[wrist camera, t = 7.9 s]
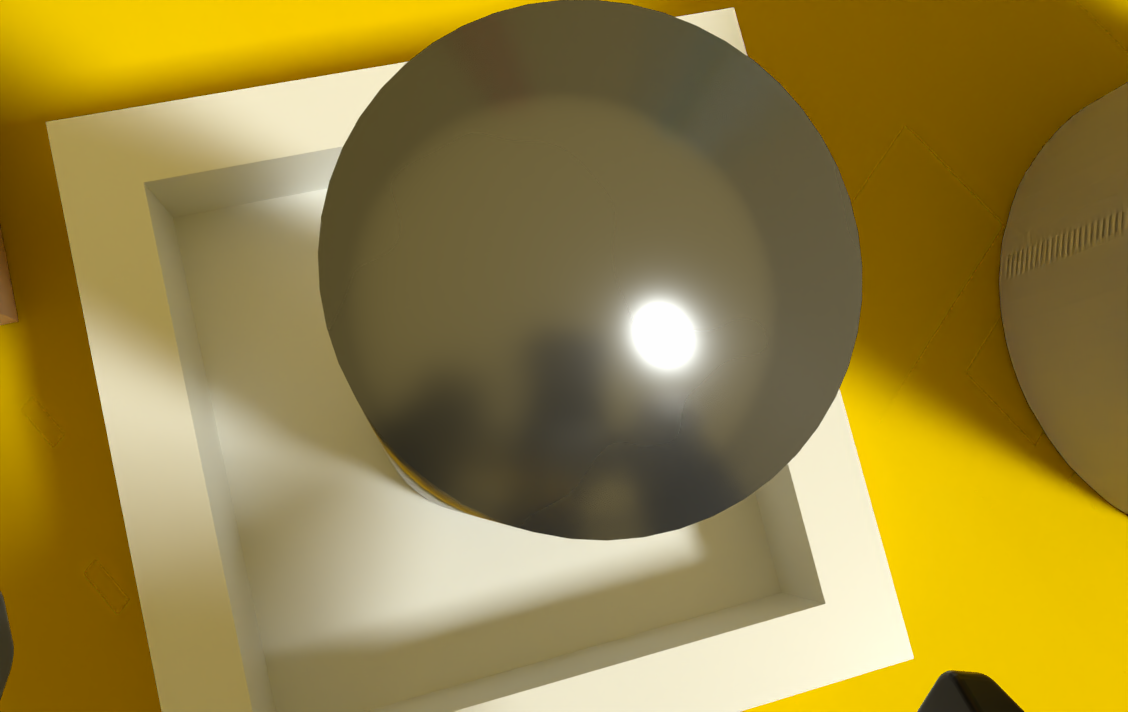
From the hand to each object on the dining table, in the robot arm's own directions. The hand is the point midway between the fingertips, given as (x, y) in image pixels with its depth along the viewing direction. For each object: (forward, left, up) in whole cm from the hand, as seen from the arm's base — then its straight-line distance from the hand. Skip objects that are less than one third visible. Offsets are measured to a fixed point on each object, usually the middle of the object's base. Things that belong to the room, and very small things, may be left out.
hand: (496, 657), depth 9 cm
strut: (+3, -1, -7) cm, 8 cm away
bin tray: (+3, -1, -8) cm, 9 cm away
